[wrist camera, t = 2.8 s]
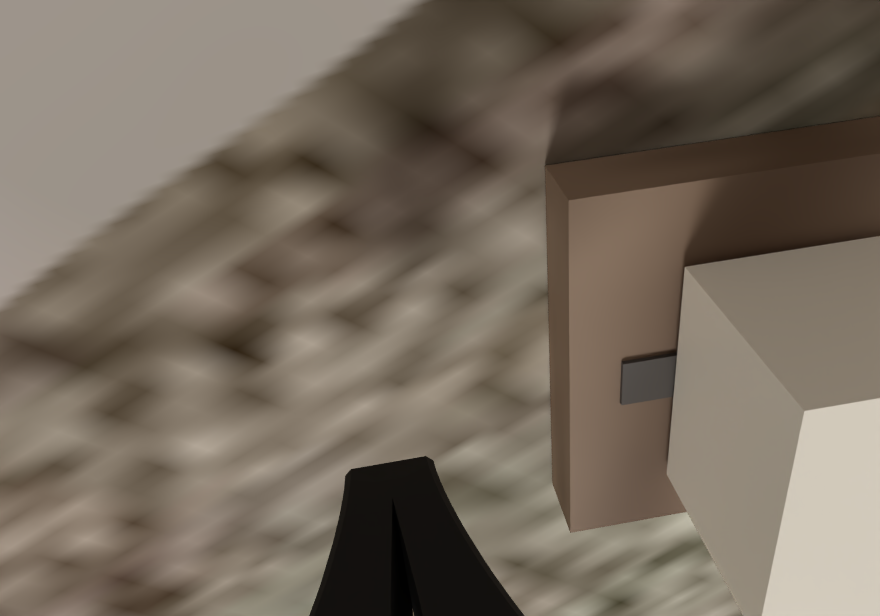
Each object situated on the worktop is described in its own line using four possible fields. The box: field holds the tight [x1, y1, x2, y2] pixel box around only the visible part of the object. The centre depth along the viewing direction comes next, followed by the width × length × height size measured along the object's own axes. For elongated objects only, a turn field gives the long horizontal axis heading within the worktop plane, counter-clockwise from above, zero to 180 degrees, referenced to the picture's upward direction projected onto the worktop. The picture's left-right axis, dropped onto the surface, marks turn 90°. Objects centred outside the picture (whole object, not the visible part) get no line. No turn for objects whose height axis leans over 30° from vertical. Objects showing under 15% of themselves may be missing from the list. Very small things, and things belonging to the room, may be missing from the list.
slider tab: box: [667, 236, 880, 616], centre depth 13 cm, size 4×5×4 cm
